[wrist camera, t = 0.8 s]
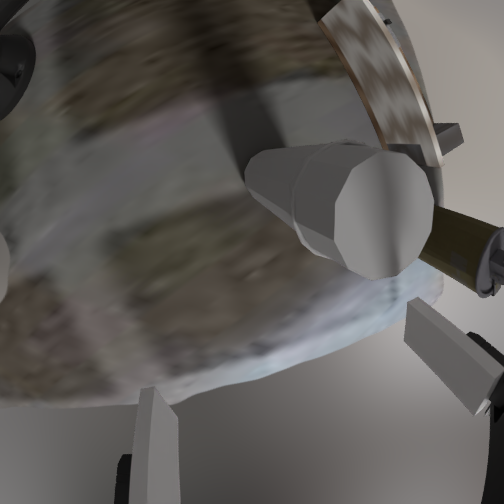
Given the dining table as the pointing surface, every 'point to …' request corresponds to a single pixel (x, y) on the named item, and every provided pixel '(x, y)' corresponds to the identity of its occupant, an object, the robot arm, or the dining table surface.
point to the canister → (466, 251)
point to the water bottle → (348, 202)
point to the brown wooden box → (387, 84)
